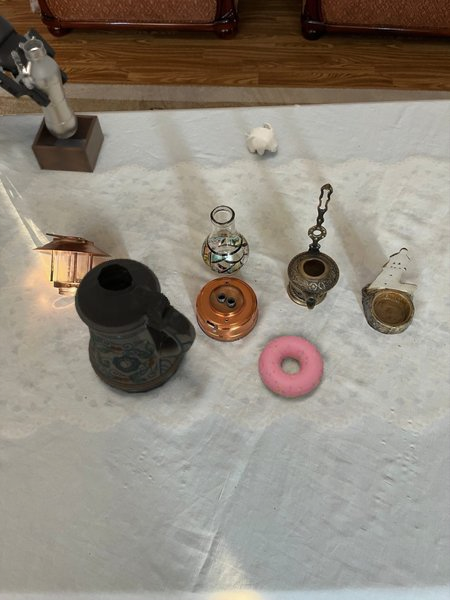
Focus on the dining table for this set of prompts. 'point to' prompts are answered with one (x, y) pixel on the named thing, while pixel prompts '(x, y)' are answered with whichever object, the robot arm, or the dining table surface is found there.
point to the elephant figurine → (262, 139)
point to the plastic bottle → (50, 90)
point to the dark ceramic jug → (131, 326)
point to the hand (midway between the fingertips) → (57, 92)
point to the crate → (69, 156)
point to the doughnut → (293, 382)
